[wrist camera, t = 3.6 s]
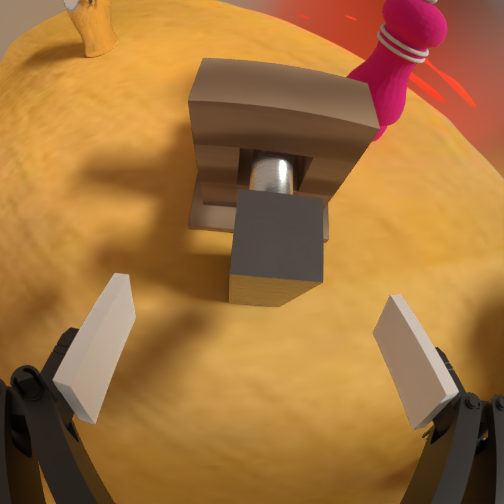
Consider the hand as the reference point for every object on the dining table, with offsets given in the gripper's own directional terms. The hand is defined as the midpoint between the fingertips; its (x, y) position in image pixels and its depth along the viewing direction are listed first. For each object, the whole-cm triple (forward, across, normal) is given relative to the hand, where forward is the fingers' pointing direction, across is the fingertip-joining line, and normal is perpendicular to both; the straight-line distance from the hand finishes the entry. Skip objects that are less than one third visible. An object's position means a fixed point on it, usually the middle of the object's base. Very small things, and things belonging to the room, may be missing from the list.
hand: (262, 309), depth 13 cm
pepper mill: (+23, -12, -10) cm, 27 cm away
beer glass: (+34, +27, -20) cm, 47 cm away
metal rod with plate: (+13, 0, -1) cm, 13 cm away
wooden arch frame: (+14, 0, -1) cm, 15 cm away
